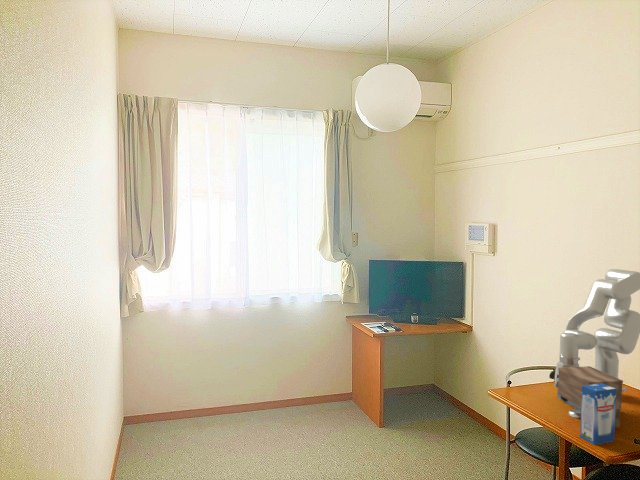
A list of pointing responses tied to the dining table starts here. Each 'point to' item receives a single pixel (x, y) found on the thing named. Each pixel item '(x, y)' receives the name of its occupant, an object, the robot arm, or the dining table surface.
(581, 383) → the cabinet
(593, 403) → the milk carton
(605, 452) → the dining table surface
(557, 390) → the gray rectangular bar
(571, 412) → the steel token
